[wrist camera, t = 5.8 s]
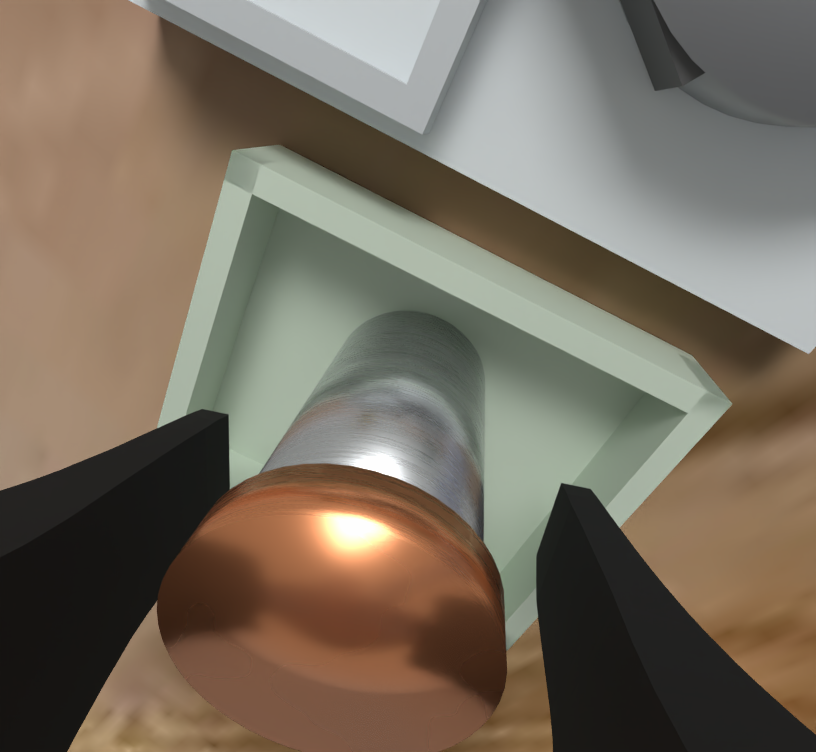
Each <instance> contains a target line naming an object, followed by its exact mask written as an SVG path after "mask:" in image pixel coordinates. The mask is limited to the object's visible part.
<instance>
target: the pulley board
mask: <svg viewBox="0 0 816 752" xmlns="http://www.w3.org/2000/svg"><path fill="white" fill-rule="evenodd" d="M129 1H131V2H133V3H135V4H137V5H139V6H141V7H143V8H144V9H146V10H148V11H150V12H152V13H154V14H156V15H158V16H160V17H162V18H164V19H166V20H168V21H169V22H171V23H173V24H175V25H177V26H179V27H181V28H183V29H185V30H187V31H189V32H191V33H193V34H194V35H196V36H198V37H200V38H202V39H204V40H206V41H208V42H210V43H212V44H214V45H216V46H218V47H219V48H221V49H223V50H225V51H227V52H229V53H231V54H233V55H235V56H237V57H239V58H241V59H243V60H244V61H246V62H248V63H250V64H252V65H254V66H256V67H258V68H260V69H262V70H264V71H266V72H268V73H269V74H271V75H273V76H275V77H277V78H279V79H281V80H283V81H285V82H287V83H289V84H291V85H293V86H294V87H296V88H298V89H300V90H302V91H304V92H306V93H308V94H310V95H312V96H314V97H316V98H318V99H319V100H321V101H323V102H325V103H327V104H329V105H331V106H333V107H335V108H337V109H339V110H341V111H343V112H344V113H346V114H348V115H350V116H352V117H354V118H356V119H358V120H360V121H362V122H364V123H366V124H367V125H369V126H371V127H373V128H375V129H377V130H379V131H381V132H383V133H385V134H387V135H389V136H391V137H392V138H394V139H396V140H398V141H400V142H402V143H404V144H406V145H408V146H410V147H412V148H414V149H416V150H417V151H419V152H421V153H423V154H425V155H427V156H429V157H431V158H433V159H435V160H437V161H439V162H441V163H442V164H444V165H446V166H448V167H450V168H452V169H454V170H456V171H458V172H460V173H462V174H464V175H466V176H467V177H469V178H471V179H473V180H475V181H477V182H479V183H481V184H483V185H485V186H487V187H489V188H491V189H492V190H494V191H496V192H498V193H500V194H502V195H504V196H506V197H508V198H510V199H512V200H514V201H516V202H517V203H519V204H521V205H523V206H525V207H527V208H529V209H531V210H533V211H535V212H537V213H539V214H541V215H542V216H544V217H546V218H548V219H550V220H552V221H554V222H556V223H558V224H560V225H562V226H564V227H566V228H567V229H569V230H571V231H573V232H575V233H577V234H579V235H581V236H583V237H585V238H587V239H589V240H590V241H592V242H594V243H596V244H598V245H600V246H602V247H604V248H606V249H608V250H610V251H612V252H614V253H615V254H617V255H619V256H621V257H623V258H625V259H627V260H629V261H631V262H633V263H635V264H637V265H639V266H640V267H642V268H644V269H646V270H648V271H650V272H652V273H654V274H656V275H658V276H660V277H662V278H664V279H665V280H667V281H669V282H671V283H673V284H675V285H677V286H679V287H681V288H683V289H685V290H687V291H689V292H690V293H692V294H694V295H696V296H698V297H700V298H702V299H704V300H706V301H708V302H710V303H712V304H714V305H715V306H717V307H719V308H721V309H723V310H725V311H727V312H729V313H731V314H733V315H735V316H737V317H739V318H740V319H742V320H744V321H746V322H748V323H750V324H752V325H754V326H756V327H758V328H760V329H762V330H764V331H765V332H767V333H769V334H771V335H773V336H775V337H777V338H779V339H781V340H783V341H785V342H787V343H789V344H790V345H792V346H794V347H796V348H798V349H800V350H802V351H804V352H806V353H808V354H809V353H810V352H811V351H812V350H813V349H814V348H815V347H816V0H129Z"/></svg>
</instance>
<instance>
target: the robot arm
mask: <svg viewBox="0 0 816 752" xmlns="http://www.w3.org/2000/svg"><path fill="white" fill-rule="evenodd" d="M229 490H230V464H229V414H224V413H219V412H215V411H210V410H205V409H200V410H198V411H195V412H193V413H190V414H188V415H186V416H183V417H181V418H179V419H176V420H174V421H172V422H170V423H168V424H166V425H163V426H161V427H159V428H157V429H155V430H153V431H150V432H148V433H146V434H144V435H142V436H139V437H137V438H135V439H133V440H131V441H128V442H126V443H124V444H122V445H119V446H117V447H115V448H113V449H110V450H108V451H106V452H103V453H101V454H98V455H96V456H93V457H91V458H89V459H86V460H84V461H81V462H79V463H76V464H74V465H71V466H69V467H67V468H64V469H62V470H59V471H56V472H54V473H51V474H48V475H46V476H43V477H40V478H37V479H34V480H32V481H29V482H26V483H23V484H20V485H17V486H14V487H11V488H7V489H4V490H1V491H0V752H67V751H68V749H69V747H70V745H71V743H72V741H73V739H74V738H75V736H76V734H77V732H78V730H79V729H80V727H81V725H82V723H83V721H84V720H85V718H86V716H87V714H88V712H89V711H90V709H91V707H92V705H93V703H94V702H95V700H96V698H97V696H98V694H99V693H100V691H101V689H102V687H103V685H104V684H105V682H106V680H107V679H108V677H109V675H110V673H111V672H112V670H113V668H114V667H115V665H116V663H117V662H118V660H119V658H120V656H121V655H122V653H123V651H124V650H125V648H126V646H127V645H128V643H129V641H130V639H131V638H132V636H133V635H134V633H135V632H136V630H137V629H138V627H139V626H140V624H141V623H142V621H143V620H144V618H145V617H146V615H147V614H148V612H149V611H150V610H151V608H152V607H153V606H154V604H155V603H156V601H157V600H158V593H159V590H160V586H161V583H162V580H163V578H164V576H165V574H166V572H167V570H168V568H169V566H170V565H171V563H172V562H173V561H174V559H175V558H176V556H177V555H178V554H179V552H180V551H181V549H182V548H183V547H184V545H185V544H186V542H187V541H188V540H189V538H190V537H191V535H192V534H193V533H194V531H195V530H196V528H197V527H198V526H199V524H200V523H201V522H202V520H203V519H204V517H205V516H206V515H207V513H208V512H209V511H210V509H211V508H212V507H213V506H214V504H215V503H216V502H217V501H218V500H219V499H220V498H221V497H222V496H223V495H224V494H225V493H227V492H228V491H229ZM536 602H537V611H538V619H539V627H540V636H541V643H542V651H543V659H544V667H545V674H546V682H547V690H548V698H549V705H550V714H551V725H552V736H553V752H816V735H815V734H814V733H813V732H812V731H811V730H809V729H808V728H807V727H806V726H805V725H804V724H802V723H801V722H800V721H799V720H798V719H797V718H795V717H794V716H793V715H792V714H791V713H790V712H789V711H788V710H786V709H785V708H784V707H783V706H782V705H781V704H780V703H779V702H778V701H776V700H775V699H774V698H773V697H772V696H771V695H770V694H769V693H768V692H766V691H765V690H764V689H763V688H762V687H761V686H760V685H759V684H758V683H756V682H755V681H754V680H753V679H752V678H751V677H750V676H749V675H748V674H747V673H746V672H745V671H744V670H743V669H742V668H741V667H740V666H739V665H738V664H737V663H736V662H735V661H734V660H733V659H732V658H731V657H730V656H729V655H728V654H727V653H726V652H725V651H724V650H723V649H722V648H721V647H720V646H719V645H718V644H717V643H716V642H715V641H714V640H713V639H712V638H711V637H710V636H709V635H708V634H707V633H706V632H705V631H704V630H703V629H702V628H701V627H700V626H699V624H698V623H697V622H696V621H695V620H694V619H693V618H692V617H691V616H690V615H689V614H688V612H687V611H686V610H685V609H684V608H683V607H682V606H681V604H680V603H679V602H678V601H677V600H676V599H675V597H674V596H673V595H672V594H671V593H670V592H669V590H668V589H667V588H666V587H665V586H664V585H663V583H662V582H661V581H660V580H659V578H658V577H657V576H656V575H655V574H654V572H653V571H652V570H651V569H650V567H649V566H648V565H647V564H646V562H645V561H644V560H643V558H642V557H641V556H640V555H639V553H638V552H637V551H636V549H635V548H634V547H633V545H632V544H631V543H630V541H629V540H628V539H627V537H626V536H625V535H624V533H623V532H622V531H621V529H620V528H619V526H618V525H617V524H616V522H615V521H614V520H613V518H612V517H611V516H610V514H609V513H608V511H607V510H606V509H605V507H604V506H603V504H602V503H601V502H600V500H599V499H598V498H597V496H596V495H595V494H594V492H593V491H592V490H591V489H589V488H584V487H579V486H574V485H569V484H564V483H561V485H560V488H559V491H558V494H557V497H556V499H555V502H554V505H553V508H552V511H551V514H550V517H549V520H548V523H547V526H546V529H545V531H544V534H543V537H542V540H541V543H540V546H539V549H538V552H537V555H536Z"/></svg>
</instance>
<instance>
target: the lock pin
mask: <svg viewBox="0 0 816 752" xmlns="http://www.w3.org/2000/svg"><path fill="white" fill-rule="evenodd" d="M484 460H485V373H484V369H483V365H482V362H481V359H480V356H479V355H478V353H477V351H476V349H475V347H474V346H473V345H472V343H471V342H470V340H469V339H468V338H467V337H466V336H465V335H464V334H463V333H462V332H461V331H460V330H458V329H457V328H456V327H455V326H453V325H452V324H450V323H448V322H447V321H445V320H443V319H441V318H439V317H436V316H434V315H430V314H427V313H423V312H418V311H393V312H388V313H384V314H381V315H378V316H375V317H373V318H371V319H369V320H367V321H366V322H364V323H363V324H361V325H360V326H358V327H357V328H356V329H355V330H354V331H353V332H352V333H351V334H350V336H349V337H348V338H347V339H346V341H345V342H344V344H343V345H342V347H341V348H340V350H339V351H338V353H337V355H336V356H335V358H334V359H333V361H332V362H331V364H330V365H329V367H328V368H327V370H326V371H325V373H324V375H323V376H322V378H321V379H320V381H319V382H318V384H317V385H316V387H315V388H314V390H313V391H312V393H311V395H310V396H309V398H308V399H307V401H306V402H305V404H304V405H303V407H302V408H301V410H300V411H299V413H298V414H297V416H296V418H295V419H294V421H293V422H292V424H291V425H290V427H289V428H288V430H287V431H286V433H285V434H284V436H283V438H282V439H281V441H280V442H279V444H278V445H277V447H276V448H275V450H274V451H273V453H272V454H271V456H270V458H269V459H268V461H267V462H266V464H265V465H264V467H263V468H262V470H261V471H260V473H259V474H258V475H255V476H253V477H251V478H248V479H246V480H244V481H243V482H241V483H239V484H238V485H236V486H235V487H233V488H231V489H230V490H229V491H228V492H227V493H225V494H224V495H223V496H222V497H221V498H220V499H219V500H218V501H217V502H216V503H215V504H214V506H213V507H212V508H211V509H210V511H209V512H208V513H207V515H206V516H205V517H204V519H203V520H202V522H201V523H200V524H199V526H198V527H197V528H196V530H195V531H194V533H193V534H192V535H191V537H190V538H189V540H188V541H187V542H186V544H185V545H184V547H183V548H182V549H181V551H180V552H179V554H178V555H177V556H176V558H175V559H174V561H173V562H172V563H171V565H170V566H169V568H168V570H167V572H166V574H165V576H164V578H163V580H162V583H161V586H160V590H159V593H158V602H157V616H158V625H159V629H160V633H161V636H162V640H163V642H164V645H165V647H166V649H167V651H168V653H169V656H170V657H171V659H172V661H173V662H174V664H175V665H176V667H177V669H178V670H179V671H180V673H181V674H182V675H183V676H184V678H185V679H186V680H187V682H188V683H189V684H190V685H191V686H192V687H193V688H194V689H195V690H196V691H197V692H198V693H199V694H200V695H201V696H202V697H203V698H204V699H205V700H206V701H208V702H209V703H210V704H211V705H212V706H213V707H215V708H216V709H217V710H219V711H220V712H221V713H223V714H224V715H226V716H227V717H229V718H230V719H231V720H233V721H235V722H236V723H238V724H240V725H241V726H243V727H245V728H246V729H248V730H250V731H252V732H254V733H256V734H258V735H260V736H262V737H264V738H266V739H269V740H271V741H274V742H276V743H279V744H281V745H284V746H286V747H289V748H292V749H296V750H299V751H302V752H440V751H442V750H444V749H447V748H449V747H452V746H454V745H456V744H457V743H459V742H461V741H463V740H464V739H466V738H468V737H469V736H470V735H472V734H473V733H474V732H475V731H477V730H478V729H479V728H480V727H481V726H482V725H483V724H484V723H485V722H486V721H487V720H488V719H489V718H490V716H491V715H492V714H493V712H494V710H495V709H496V707H497V705H498V704H499V702H500V699H501V696H502V694H503V691H504V688H505V682H506V675H507V661H506V632H505V604H504V589H503V585H502V580H501V576H500V573H499V570H498V568H497V566H496V563H495V561H494V559H493V557H492V555H491V553H490V552H489V550H488V548H487V547H486V545H485V544H484Z"/></svg>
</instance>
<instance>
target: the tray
mask: <svg viewBox="0 0 816 752" xmlns="http://www.w3.org/2000/svg"><path fill="white" fill-rule="evenodd" d="M393 311H418V312H423V313H427V314H430V315H434V316H436V317H439V318H441V319H443V320H445V321H447V322H448V323H450V324H452V325H453V326H455V327H456V328H457V329H458V330H460V331H461V332H462V333H463V334H464V335H465V336H466V337H467V338H468V339H469V340H470V342H471V343H472V345H473V346H474V347H475V349H476V351H477V353H478V355H479V356H480V359H481V362H482V365H483V369H484V373H485V460H484V544H485V545H486V547H487V548H488V550H489V552H490V553H491V555H492V557H493V559H494V561H495V563H496V566H497V568H498V570H499V573H500V576H501V580H502V585H503V589H504V604H505V632H506V650H508V649H509V648H510V647H511V646H512V645H513V644H514V643H515V642H516V641H517V639H518V638H519V637H520V636H521V635H522V634H523V633H524V632H525V631H526V630H527V628H528V627H529V626H530V625H531V624H532V623H533V622H534V621H535V620H536V619H537V617H538V611H537V602H536V555H537V552H538V549H539V546H540V543H541V540H542V537H543V534H544V531H545V529H546V526H547V523H548V520H549V517H550V514H551V511H552V508H553V505H554V502H555V499H556V497H557V494H558V491H559V488H560V485H561V483H564V484H569V485H574V486H579V487H584V488H589V489H591V490H592V491H593V492H594V494H595V495H596V496H597V498H598V499H599V500H600V502H601V503H602V504H603V506H604V507H605V509H606V510H607V511H608V513H609V514H610V516H611V517H612V518H613V520H614V521H615V522H616V524H617V525H618V526H619V528H620V527H621V525H622V524H623V523H624V522H625V521H626V520H627V519H628V518H629V517H630V516H631V514H632V513H633V512H634V511H635V510H636V509H637V508H638V507H639V506H640V505H641V503H642V502H643V501H644V500H645V499H646V498H647V497H648V496H649V495H650V494H651V493H652V491H653V490H654V489H655V488H656V487H657V486H658V485H659V484H660V483H661V482H662V480H663V479H664V478H665V477H666V476H667V475H668V474H669V473H670V472H671V471H672V470H673V468H674V467H675V466H676V465H677V464H678V463H679V462H680V461H681V460H682V459H683V457H684V456H685V455H686V454H687V453H688V452H689V451H690V450H691V449H692V448H693V446H694V445H695V444H696V443H697V442H698V441H699V440H700V439H701V438H702V437H703V436H704V434H705V433H706V432H707V431H708V430H709V429H710V428H711V427H712V426H713V425H714V423H715V422H716V421H717V420H718V419H719V418H720V417H721V416H722V415H723V414H724V413H725V411H726V410H727V409H728V408H729V407H730V406H731V405H732V403H731V402H730V400H729V399H728V398H727V397H726V396H725V394H724V393H723V392H722V391H721V390H720V388H719V387H718V386H717V385H716V384H715V382H714V381H713V380H712V379H711V378H710V376H709V375H708V374H707V373H706V372H705V370H704V369H703V368H702V367H701V366H700V364H699V363H698V362H697V361H696V360H695V358H694V357H693V356H692V355H690V354H688V353H686V352H684V351H682V350H680V349H678V348H677V347H675V346H673V345H671V344H669V343H667V342H665V341H663V340H661V339H659V338H657V337H655V336H653V335H651V334H649V333H647V332H645V331H643V330H641V329H639V328H637V327H635V326H634V325H632V324H630V323H628V322H626V321H624V320H622V319H620V318H618V317H616V316H614V315H612V314H610V313H608V312H606V311H604V310H602V309H600V308H598V307H596V306H594V305H592V304H591V303H589V302H587V301H585V300H583V299H581V298H579V297H577V296H575V295H573V294H571V293H569V292H567V291H565V290H563V289H561V288H559V287H557V286H555V285H553V284H551V283H549V282H547V281H546V280H544V279H542V278H540V277H538V276H536V275H534V274H532V273H530V272H528V271H526V270H524V269H522V268H520V267H518V266H516V265H514V264H512V263H510V262H508V261H506V260H504V259H503V258H501V257H499V256H497V255H495V254H493V253H491V252H489V251H487V250H485V249H483V248H481V247H479V246H477V245H475V244H473V243H471V242H469V241H467V240H465V239H463V238H461V237H460V236H458V235H456V234H454V233H452V232H450V231H448V230H446V229H444V228H442V227H440V226H438V225H436V224H434V223H432V222H430V221H428V220H426V219H424V218H422V217H420V216H418V215H416V214H415V213H413V212H411V211H409V210H407V209H405V208H403V207H401V206H399V205H397V204H395V203H393V202H391V201H389V200H387V199H385V198H383V197H381V196H379V195H377V194H375V193H373V192H372V191H370V190H368V189H366V188H364V187H362V186H360V185H358V184H356V183H354V182H352V181H350V180H348V179H346V178H344V177H342V176H340V175H338V174H336V173H334V172H332V171H330V170H329V169H327V168H325V167H323V166H321V165H319V164H317V163H315V162H313V161H311V160H309V159H307V158H305V157H303V156H301V155H299V154H297V153H295V152H293V151H291V150H289V149H287V148H286V147H284V146H282V145H272V146H263V147H255V148H246V149H237V150H232V153H231V157H230V160H229V164H228V168H227V171H226V175H225V179H224V182H223V186H222V190H221V193H220V197H219V201H218V205H217V208H216V212H215V216H214V219H213V223H212V227H211V230H210V234H209V238H208V241H207V245H206V249H205V253H204V256H203V260H202V264H201V267H200V271H199V275H198V278H197V282H196V286H195V289H194V293H193V297H192V300H191V304H190V308H189V312H188V315H187V319H186V323H185V326H184V330H183V334H182V337H181V341H180V345H179V348H178V352H177V356H176V360H175V363H174V367H173V371H172V374H171V378H170V382H169V385H168V389H167V393H166V396H165V400H164V404H163V408H162V411H161V415H160V419H159V422H158V426H157V428H159V427H161V426H163V425H166V424H168V423H170V422H172V421H174V420H176V419H179V418H181V417H183V416H186V415H188V414H190V413H193V412H195V411H198V410H200V409H205V410H210V411H215V412H219V413H224V414H229V464H230V489H231V488H233V487H235V486H236V485H238V484H239V483H241V482H243V481H244V480H246V479H248V478H251V477H253V476H255V475H258V474H259V473H260V471H261V470H262V468H263V467H264V465H265V464H266V462H267V461H268V459H269V458H270V456H271V454H272V453H273V451H274V450H275V448H276V447H277V445H278V444H279V442H280V441H281V439H282V438H283V436H284V434H285V433H286V431H287V430H288V428H289V427H290V425H291V424H292V422H293V421H294V419H295V418H296V416H297V414H298V413H299V411H300V410H301V408H302V407H303V405H304V404H305V402H306V401H307V399H308V398H309V396H310V395H311V393H312V391H313V390H314V388H315V387H316V385H317V384H318V382H319V381H320V379H321V378H322V376H323V375H324V373H325V371H326V370H327V368H328V367H329V365H330V364H331V362H332V361H333V359H334V358H335V356H336V355H337V353H338V351H339V350H340V348H341V347H342V345H343V344H344V342H345V341H346V339H347V338H348V337H349V336H350V334H351V333H352V332H353V331H354V330H355V329H356V328H357V327H358V326H360V325H361V324H363V323H364V322H366V321H367V320H369V319H371V318H373V317H375V316H378V315H381V314H384V313H388V312H393Z"/></svg>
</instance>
